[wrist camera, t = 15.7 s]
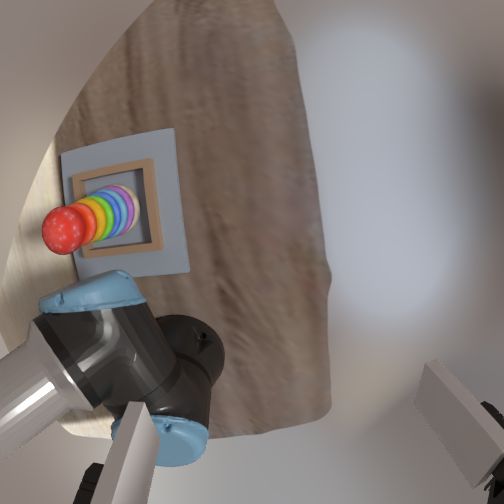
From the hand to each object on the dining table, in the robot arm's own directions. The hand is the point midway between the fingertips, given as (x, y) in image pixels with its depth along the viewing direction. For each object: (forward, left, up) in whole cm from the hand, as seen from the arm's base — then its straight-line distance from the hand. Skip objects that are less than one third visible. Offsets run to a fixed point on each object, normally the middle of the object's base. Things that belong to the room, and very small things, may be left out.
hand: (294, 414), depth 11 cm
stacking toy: (+8, +20, -34) cm, 40 cm away
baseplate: (+8, +20, -35) cm, 41 cm away
